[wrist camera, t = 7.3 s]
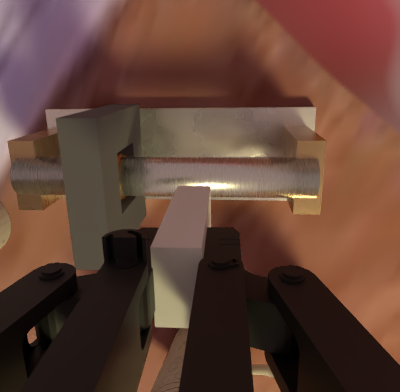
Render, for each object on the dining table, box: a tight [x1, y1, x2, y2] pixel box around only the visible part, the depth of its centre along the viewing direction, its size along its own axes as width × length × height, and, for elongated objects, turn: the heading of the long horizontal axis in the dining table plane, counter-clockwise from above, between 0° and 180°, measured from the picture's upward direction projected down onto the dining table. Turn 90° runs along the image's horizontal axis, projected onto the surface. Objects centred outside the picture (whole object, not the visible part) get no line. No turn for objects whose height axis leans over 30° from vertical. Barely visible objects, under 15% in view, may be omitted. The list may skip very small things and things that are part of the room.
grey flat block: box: [56, 104, 146, 270], centre depth 23 cm, size 2×8×8 cm, turn 1°
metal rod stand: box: [8, 106, 327, 214], centre depth 26 cm, size 20×7×8 cm, turn 91°
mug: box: [151, 328, 274, 392], centre depth 30 cm, size 8×13×10 cm, turn 90°
